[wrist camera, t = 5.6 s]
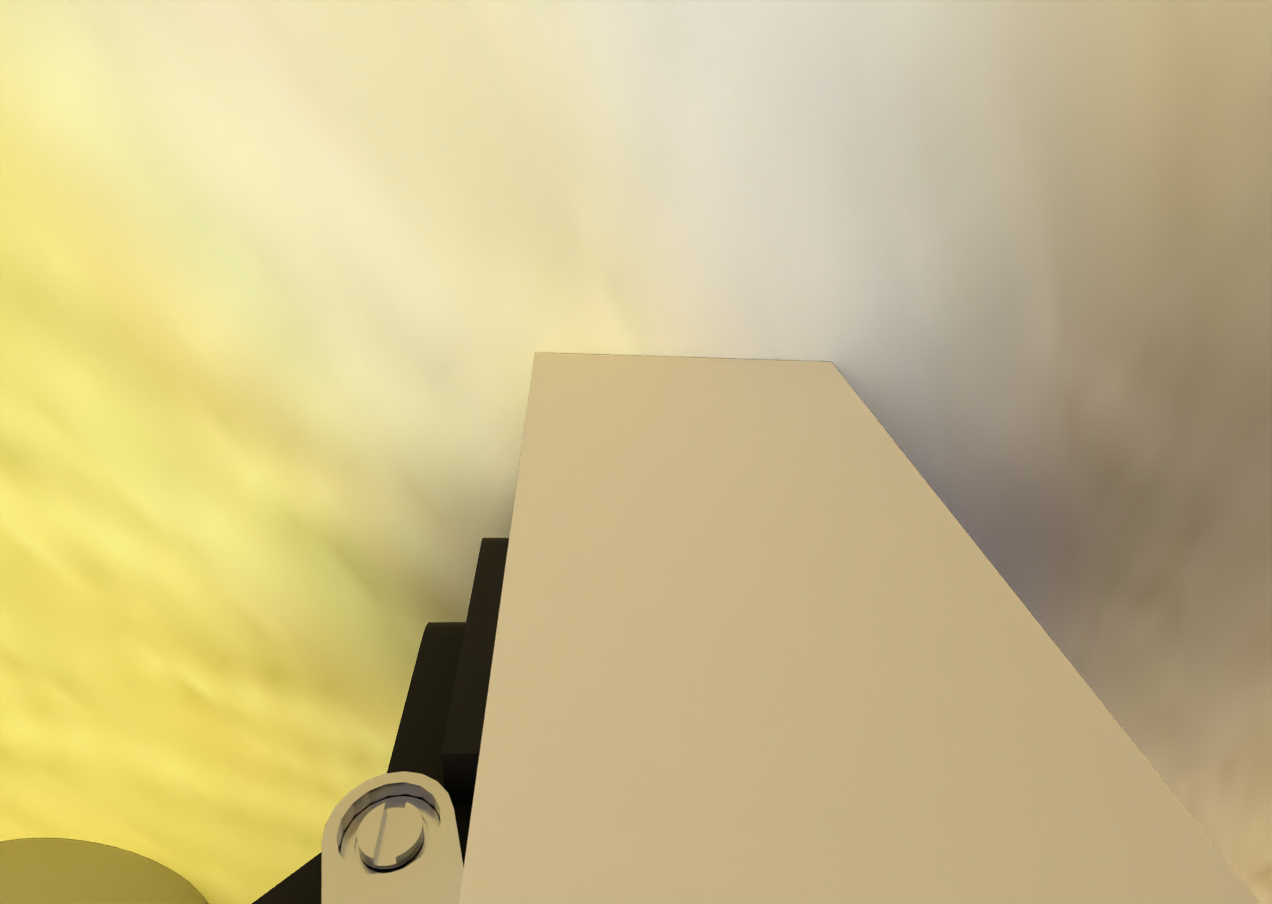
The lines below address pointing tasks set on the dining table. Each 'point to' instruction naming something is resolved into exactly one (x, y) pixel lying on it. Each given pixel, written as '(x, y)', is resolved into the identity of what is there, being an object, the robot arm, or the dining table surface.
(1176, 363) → the dining table surface
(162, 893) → the grey cylinder
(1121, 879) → the carton
